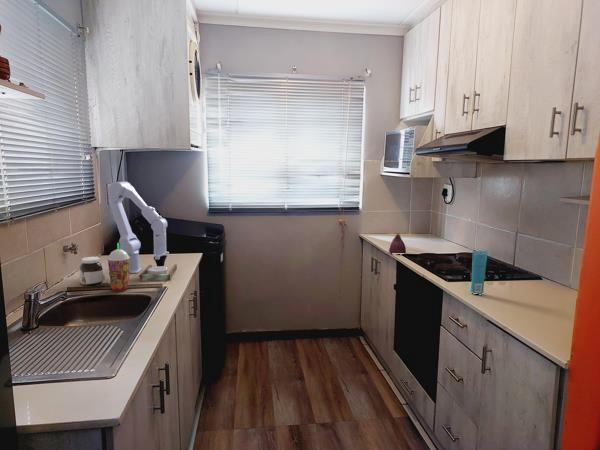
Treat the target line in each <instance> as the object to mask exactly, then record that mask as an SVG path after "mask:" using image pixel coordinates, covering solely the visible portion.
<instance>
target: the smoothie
mask: <svg viewBox="0 0 600 450" xmlns="http://www.w3.org/2000/svg"><path fill="white" fill-rule="evenodd" d="M116 243H117V244H116V245H117V246H116V247H117V248H116V249H114V250H113V251H111V252H110V254H109V256H108V257H107V265H108V273H109V275H110V288H111V289H112V291H113V292H118V293H119V292H124V291H127V290H128V287H129V284H130V273H129V258H130V257H129V256H128V254H127V253H126V252H125V251H124V250H121V249H120V242H116Z"/></svg>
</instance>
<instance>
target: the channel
mask: <svg viewBox="0 0 600 450" xmlns="http://www.w3.org/2000/svg"><path fill="white" fill-rule="evenodd" d="M150 267H153V265H152V264H148V265H147V267H145V268H144V270H143V271H142V272H141V273H140V274H139V281H140V282H143V281H145V282H146V281H147V282H148V281H150V282H151V281H171V280H172V278H173V276H174V274H175V273H176V272H177V269H178V264H177V263H175V264H173V266H172V267H171V269H170V270H169V272H167V274H152V275H148V270H147V269H148V268H150Z"/></svg>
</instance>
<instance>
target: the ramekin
mask: <svg viewBox="0 0 600 450" xmlns="http://www.w3.org/2000/svg"><path fill="white" fill-rule="evenodd" d="M147 270H148V275H152V274H168V267H167V266H165V265H164V266H157V265H156V266H152V267H150V268H148V269H147Z"/></svg>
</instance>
